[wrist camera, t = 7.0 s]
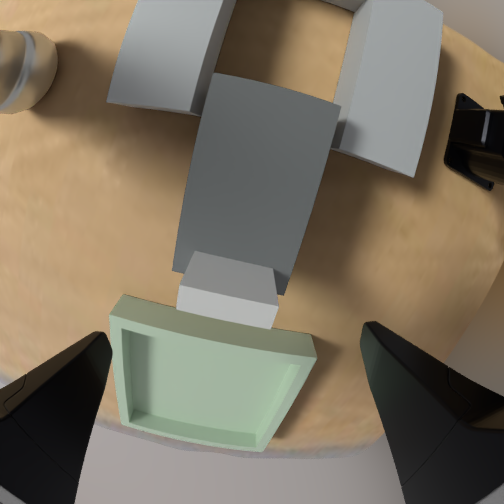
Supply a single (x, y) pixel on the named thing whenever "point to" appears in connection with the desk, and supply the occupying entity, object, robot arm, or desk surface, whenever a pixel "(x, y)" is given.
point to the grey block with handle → (249, 197)
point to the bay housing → (349, 85)
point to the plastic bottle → (25, 69)
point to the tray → (204, 375)
